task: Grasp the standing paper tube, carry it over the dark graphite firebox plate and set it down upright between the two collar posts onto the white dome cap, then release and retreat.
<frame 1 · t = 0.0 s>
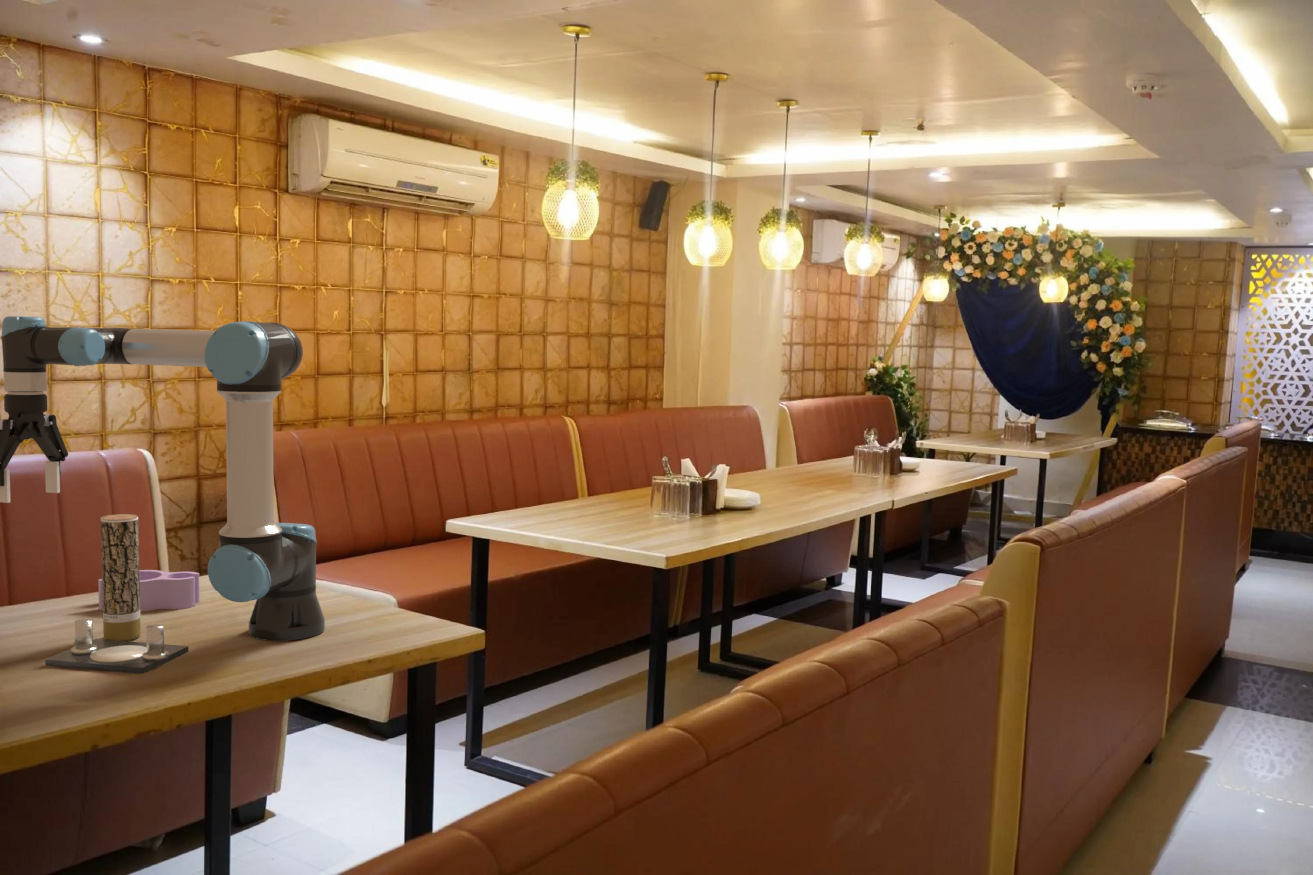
hand: (28, 497, 216), 28 cm above the table, fingers open, 13 cm apart
paper tube: (122, 639, 216), on the table
collar post 1: (84, 657, 203), resting on firebox plate
firebox plate: (118, 658, 203), on the table
white dome cap: (120, 660, 202), resting on firebox plate
clip: (151, 606, 242), on the table
collar post 2: (155, 663, 201), resting on firebox plate
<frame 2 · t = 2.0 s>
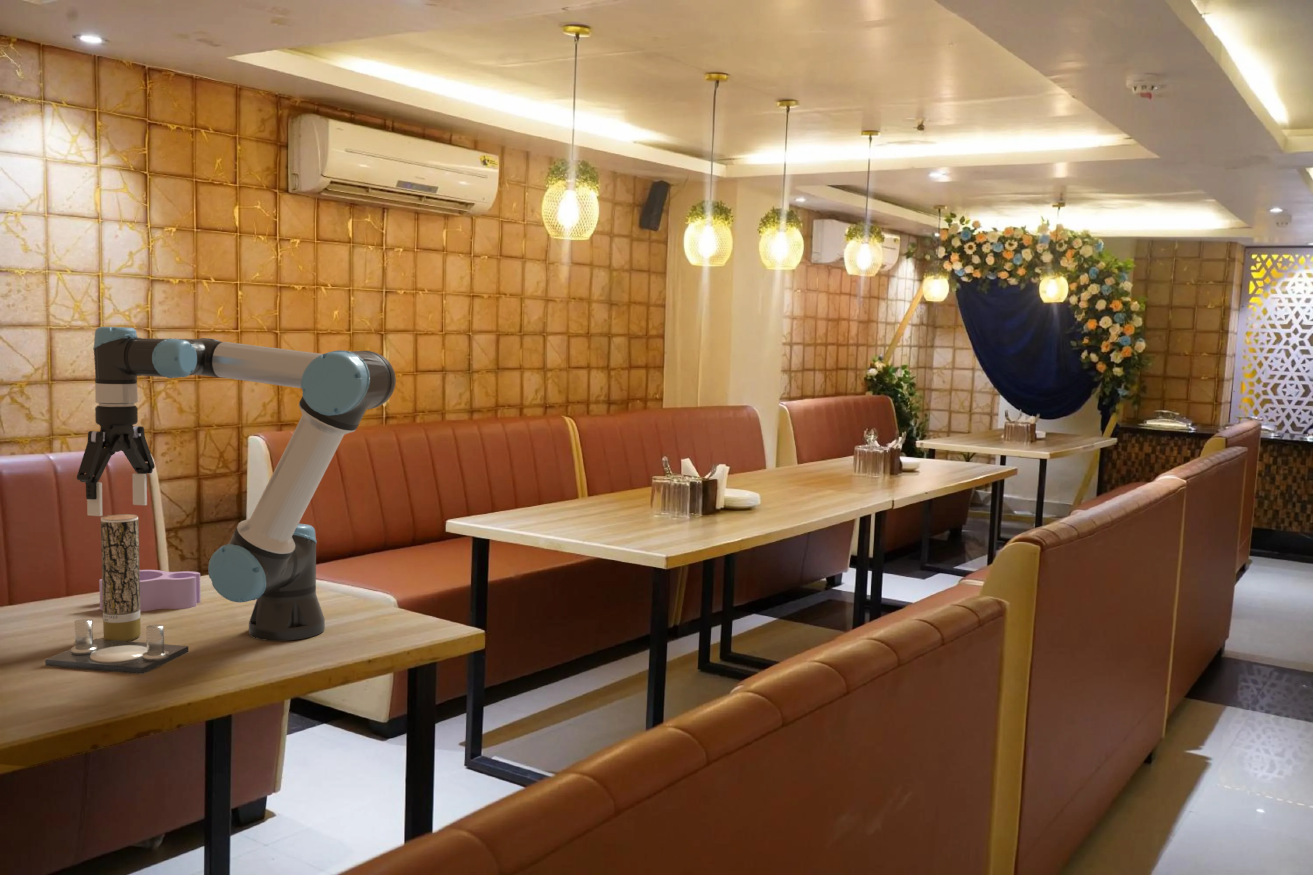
hand: (118, 510, 214), 26 cm above the table, fingers open, 13 cm apart
nothing on the table moved.
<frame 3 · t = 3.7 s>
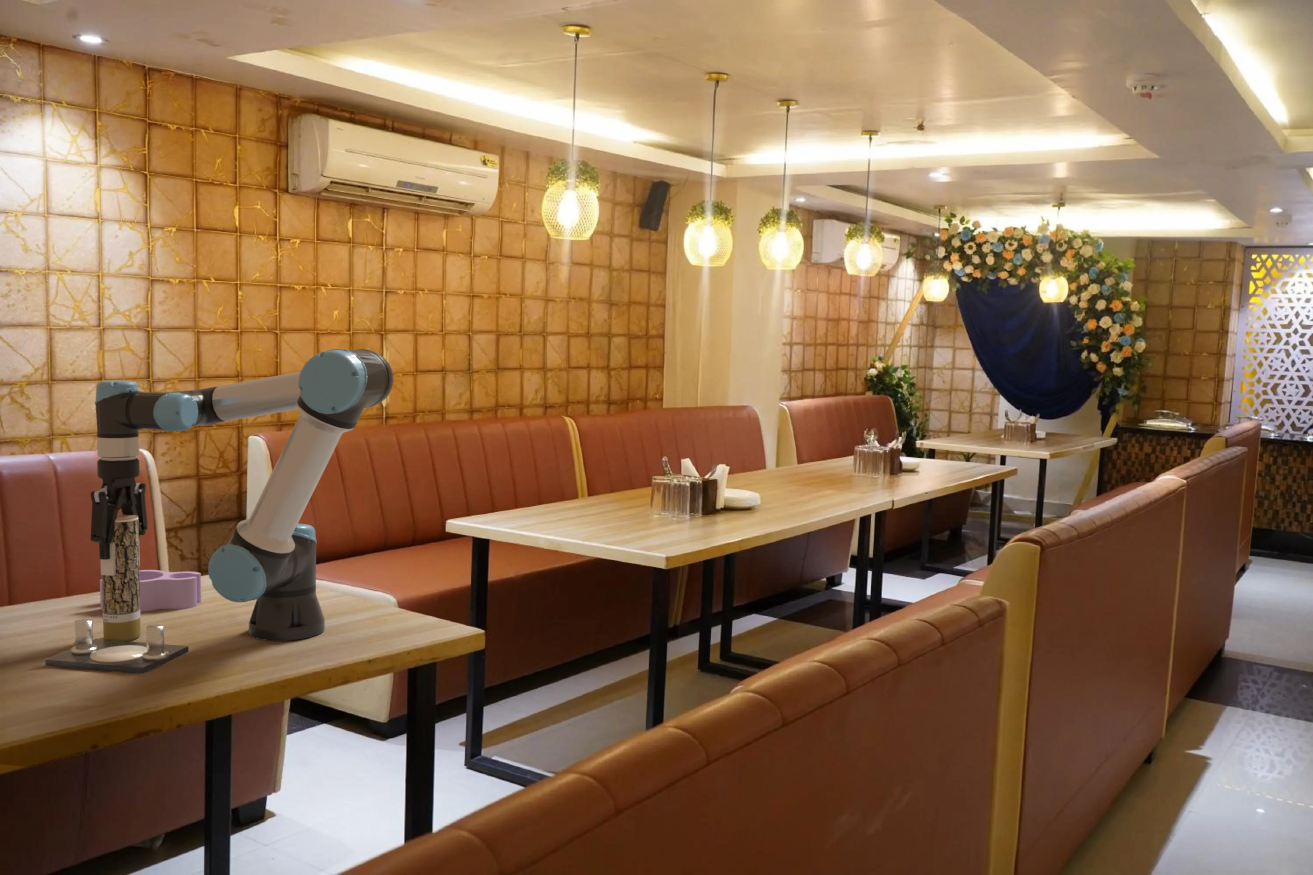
hand: (120, 570, 215), 14 cm above the table, fingers closed on paper tube, 7 cm apart
paper tube: (122, 639, 216), on the table, touching gripper
everything else where it was.
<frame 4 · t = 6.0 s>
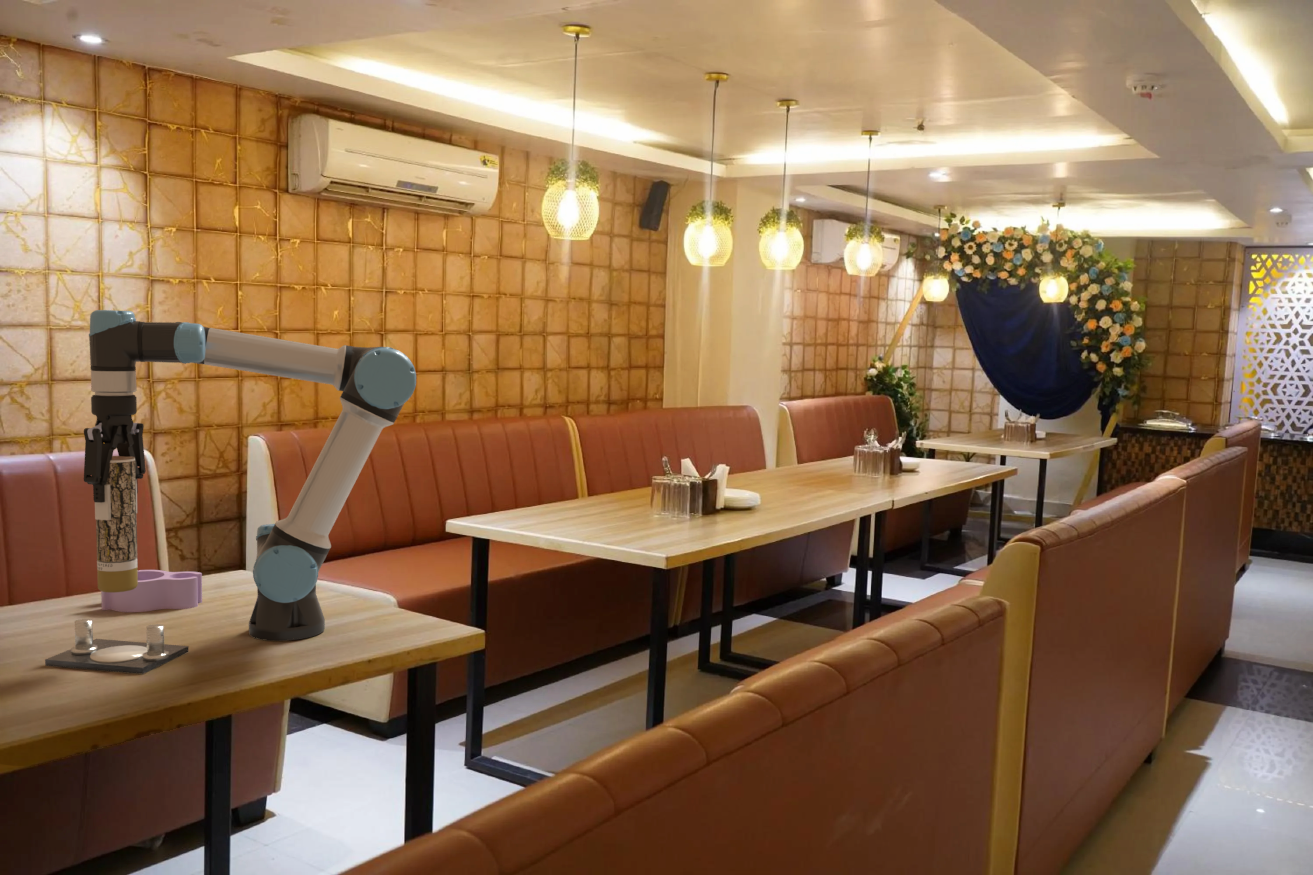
hand: (116, 515, 199), 28 cm above the table, fingers closed on paper tube, 7 cm apart
paper tube: (118, 590, 201), point 14 cm above the table, touching gripper
everything else where it was.
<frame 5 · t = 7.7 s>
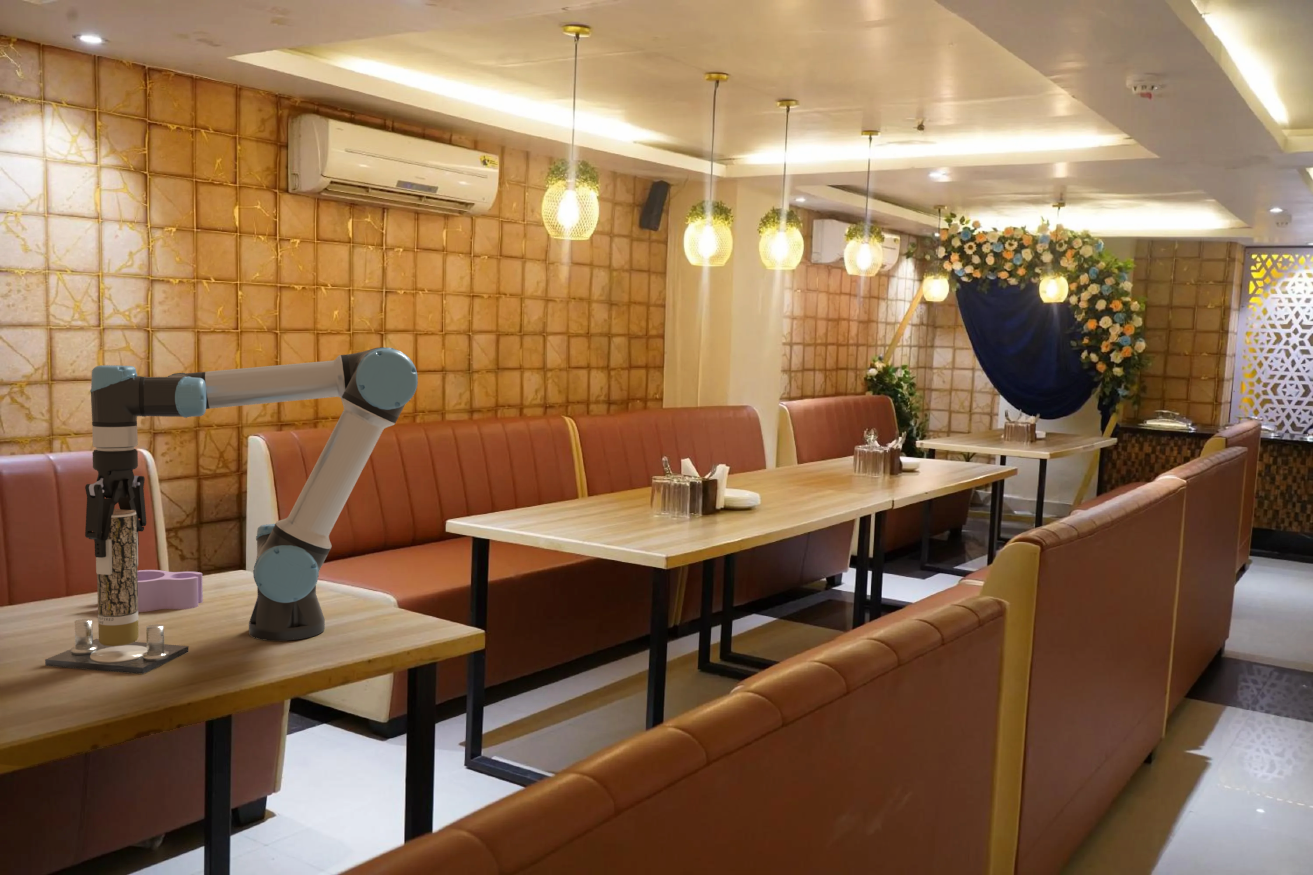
hand: (117, 569, 200), 18 cm above the table, fingers closed on paper tube, 7 cm apart
paper tube: (118, 643, 201), point 3 cm above the table, touching gripper
everything else where it was.
when the fingers open (16 cm above the table, at t = 8.4 s): paper tube stays where it is, resting on white dome cap.
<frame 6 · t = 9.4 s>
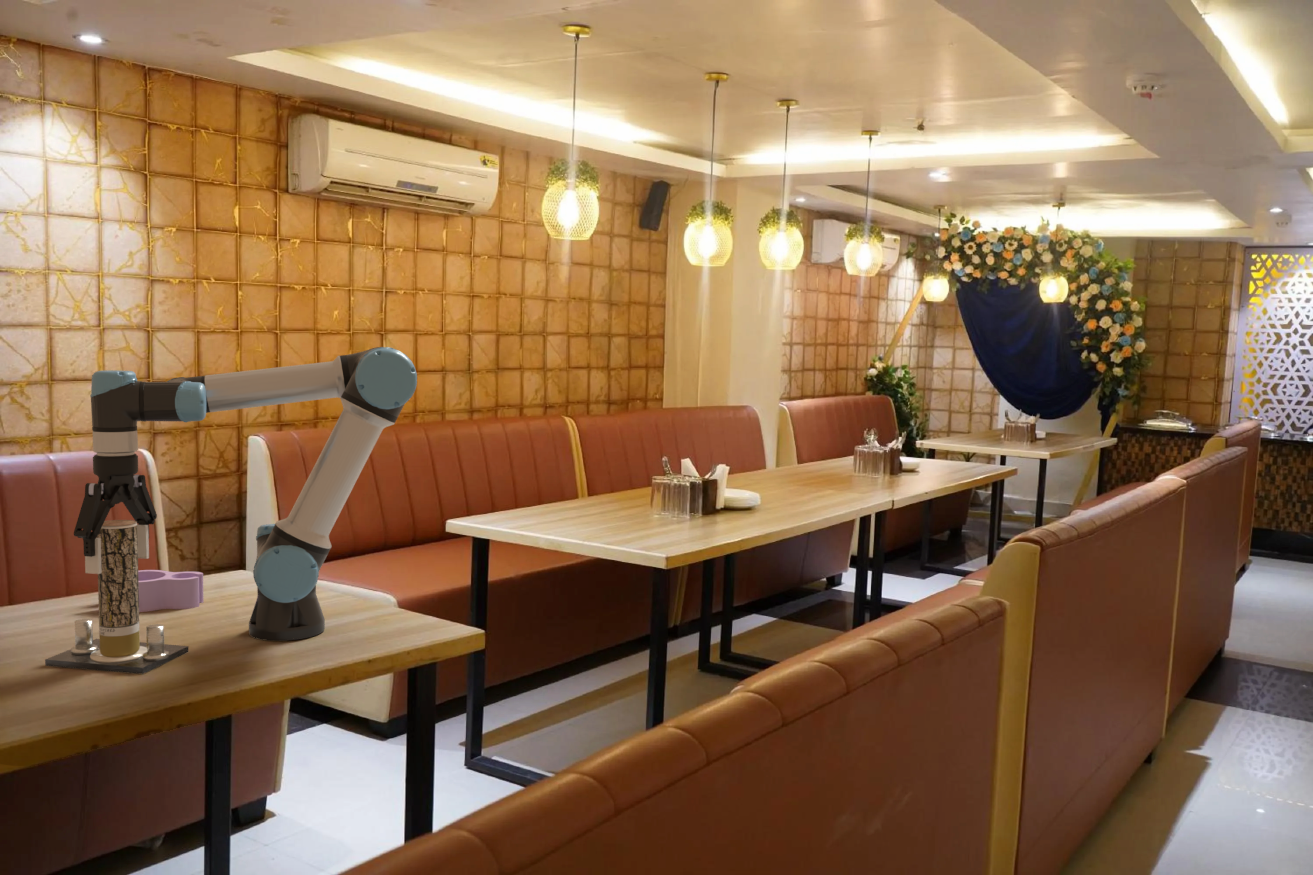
hand: (118, 565, 200), 18 cm above the table, fingers open, 13 cm apart
paper tube: (120, 653, 202), point 1 cm above the table, touching white dome cap
everything else where it was.
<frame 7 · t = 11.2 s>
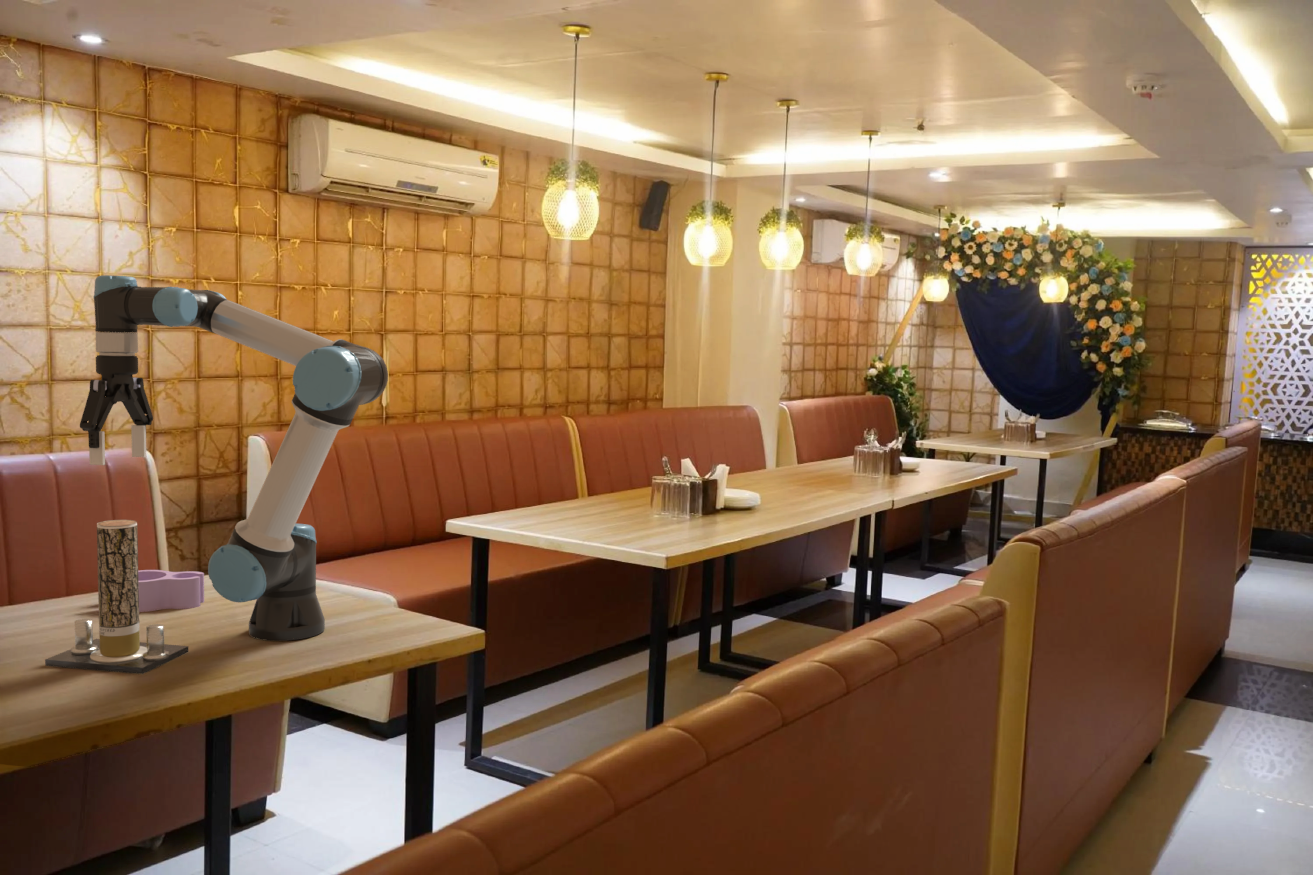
hand: (118, 460, 213), 36 cm above the table, fingers open, 13 cm apart
nothing on the table moved.
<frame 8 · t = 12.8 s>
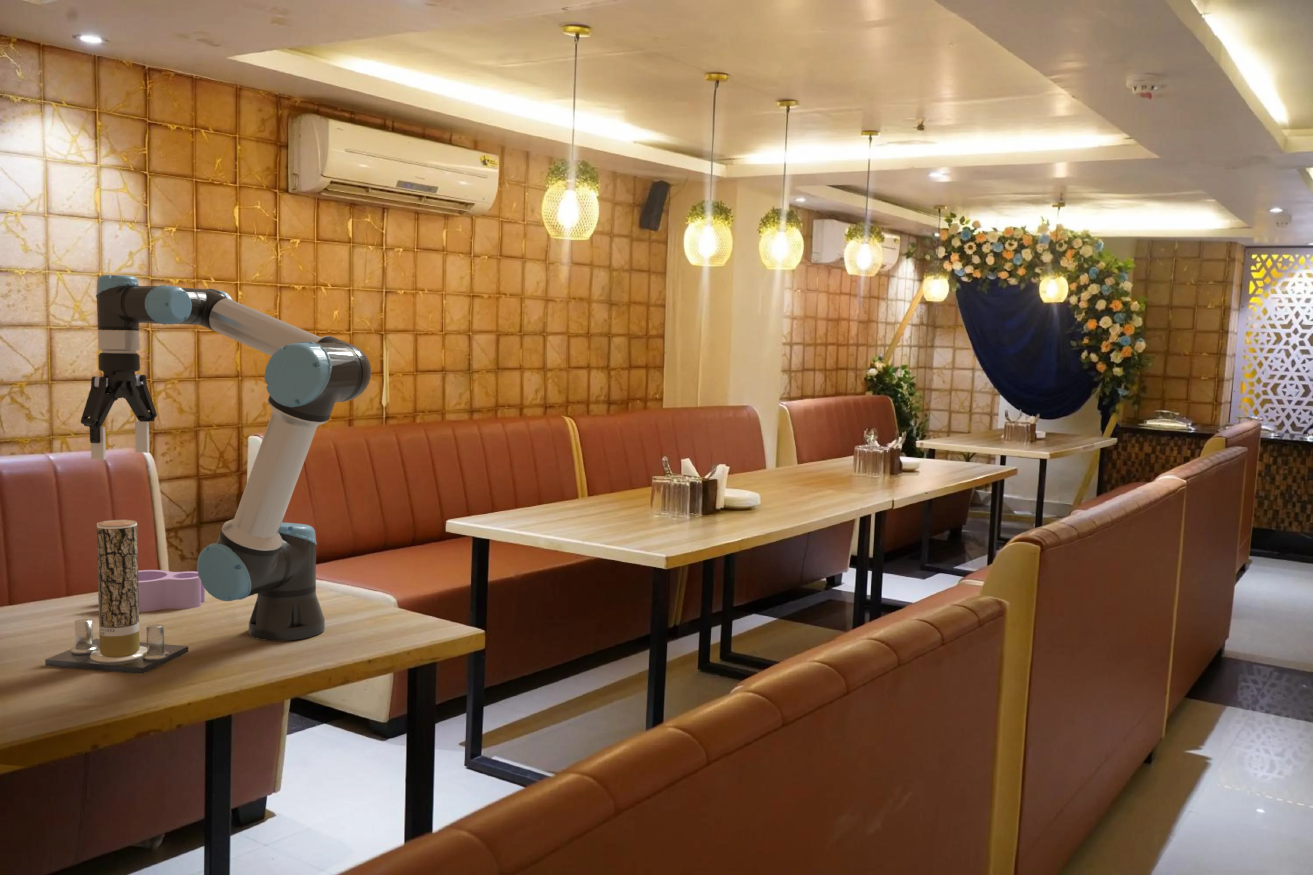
hand: (121, 455, 218), 37 cm above the table, fingers open, 13 cm apart
at the end: paper tube 0.0 cm from the white dome cap (horizontally); paper tube tilted 0°; the gripper is holding nothing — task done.
